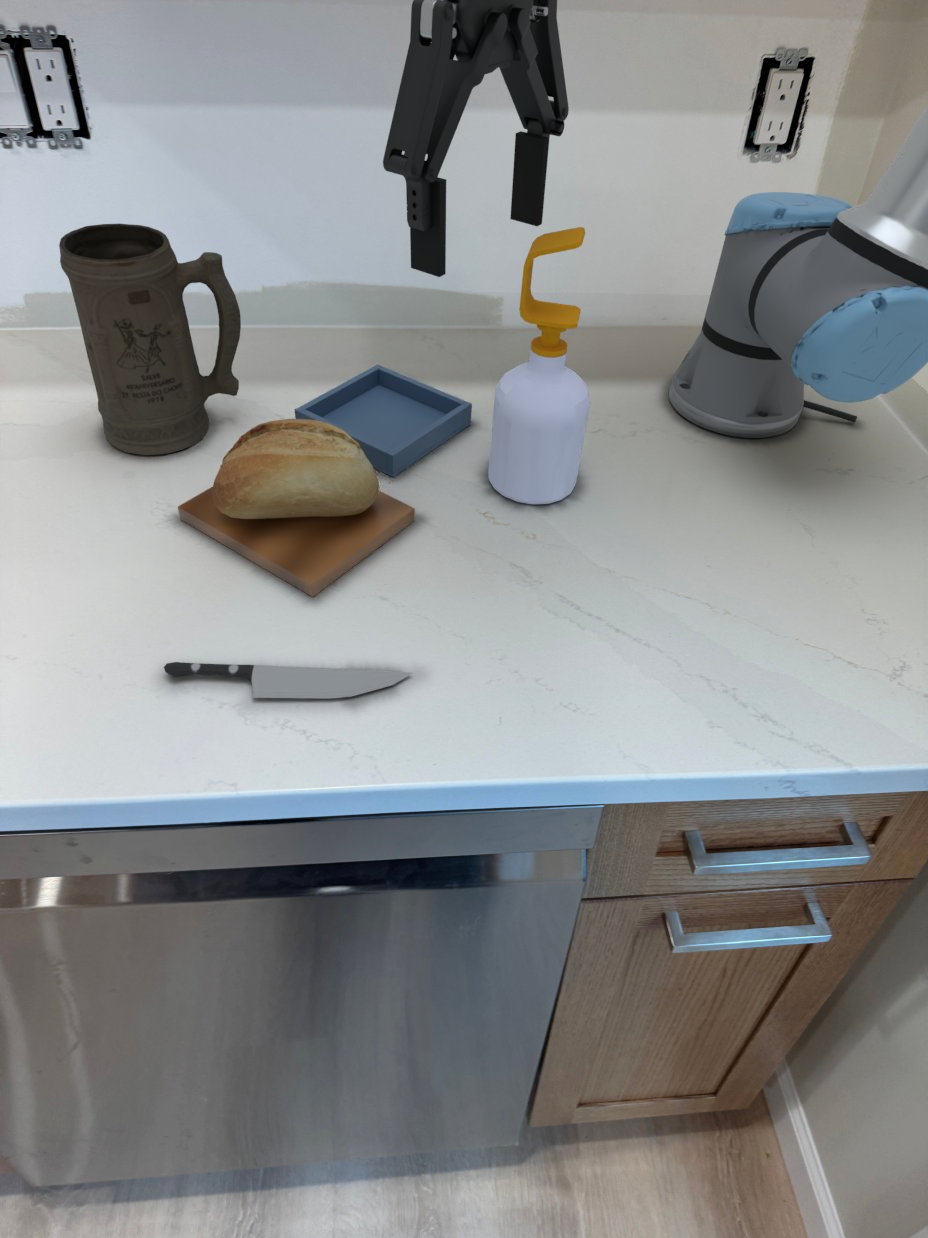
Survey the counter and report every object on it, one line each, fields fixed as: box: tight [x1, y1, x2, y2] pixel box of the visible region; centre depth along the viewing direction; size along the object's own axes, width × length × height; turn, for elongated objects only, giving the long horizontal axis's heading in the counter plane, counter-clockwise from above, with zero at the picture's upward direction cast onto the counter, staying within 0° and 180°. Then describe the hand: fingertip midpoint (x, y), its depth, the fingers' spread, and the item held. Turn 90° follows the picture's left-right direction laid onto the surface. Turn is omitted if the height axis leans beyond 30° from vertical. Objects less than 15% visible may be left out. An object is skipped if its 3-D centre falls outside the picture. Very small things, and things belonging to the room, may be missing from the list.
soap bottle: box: [487, 226, 591, 505], centre depth 76 cm, size 9×9×25 cm
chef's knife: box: [163, 661, 413, 700], centre depth 63 cm, size 19×1×3 cm
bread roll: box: [212, 418, 380, 519], centre depth 74 cm, size 10×15×8 cm, turn 103°
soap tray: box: [294, 364, 473, 478], centre depth 90 cm, size 14×14×3 cm
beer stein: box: [58, 223, 242, 456], centre depth 82 cm, size 15×11×20 cm
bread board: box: [177, 486, 416, 598], centre depth 77 cm, size 17×14×2 cm
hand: (480, 245), depth 66 cm, fingers open, 13 cm apart
